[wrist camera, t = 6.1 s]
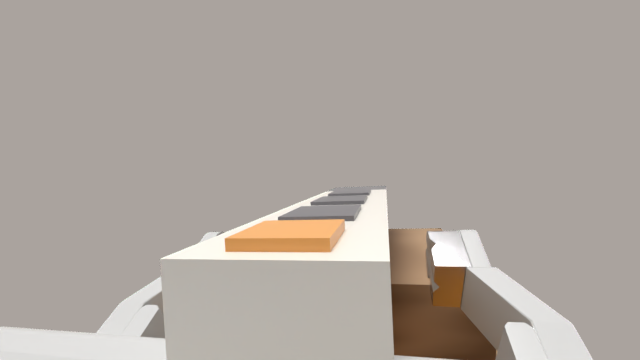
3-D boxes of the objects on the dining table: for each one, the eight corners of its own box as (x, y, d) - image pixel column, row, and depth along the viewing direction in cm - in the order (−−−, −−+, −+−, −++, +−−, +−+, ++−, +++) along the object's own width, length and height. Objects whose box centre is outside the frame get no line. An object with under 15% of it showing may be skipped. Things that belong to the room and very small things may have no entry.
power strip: (387, 221, 28) (385, 180, 28) (399, 484, 5) (388, 244, 5) (344, 222, 29) (342, 182, 29) (172, 450, 6) (159, 245, 6)
